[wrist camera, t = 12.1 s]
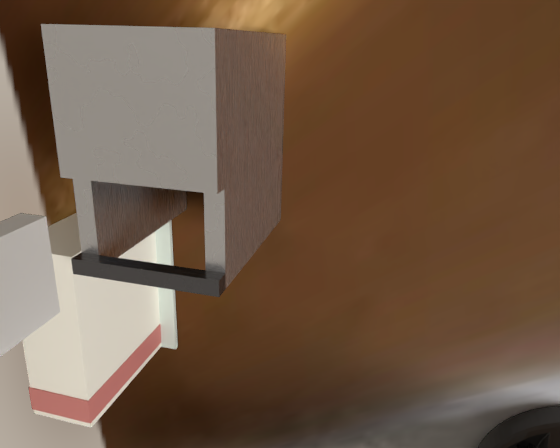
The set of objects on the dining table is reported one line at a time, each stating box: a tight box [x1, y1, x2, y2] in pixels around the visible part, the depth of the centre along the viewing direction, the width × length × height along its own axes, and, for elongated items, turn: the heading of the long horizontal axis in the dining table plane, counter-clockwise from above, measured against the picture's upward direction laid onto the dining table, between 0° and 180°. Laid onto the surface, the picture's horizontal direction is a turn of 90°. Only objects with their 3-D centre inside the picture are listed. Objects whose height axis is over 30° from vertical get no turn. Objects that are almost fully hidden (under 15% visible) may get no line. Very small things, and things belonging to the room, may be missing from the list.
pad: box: [155, 221, 178, 349], centre depth 45 cm, size 14×8×1 cm, turn 178°
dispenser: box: [41, 24, 286, 297], centre depth 32 cm, size 14×9×14 cm
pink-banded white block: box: [22, 213, 161, 428], centre depth 40 cm, size 14×5×11 cm, turn 177°
